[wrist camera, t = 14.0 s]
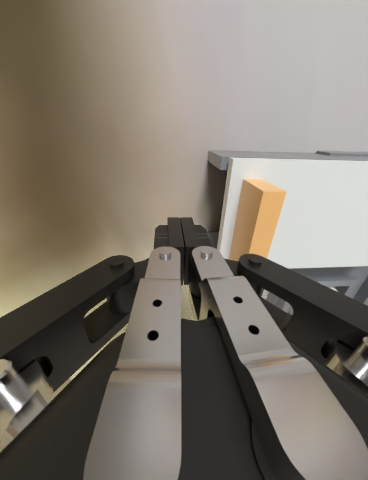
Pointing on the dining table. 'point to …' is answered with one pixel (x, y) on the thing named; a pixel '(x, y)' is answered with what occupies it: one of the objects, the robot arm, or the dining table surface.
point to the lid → (296, 212)
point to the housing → (341, 278)
